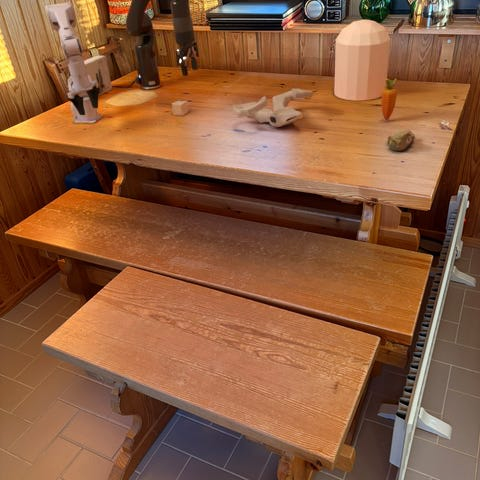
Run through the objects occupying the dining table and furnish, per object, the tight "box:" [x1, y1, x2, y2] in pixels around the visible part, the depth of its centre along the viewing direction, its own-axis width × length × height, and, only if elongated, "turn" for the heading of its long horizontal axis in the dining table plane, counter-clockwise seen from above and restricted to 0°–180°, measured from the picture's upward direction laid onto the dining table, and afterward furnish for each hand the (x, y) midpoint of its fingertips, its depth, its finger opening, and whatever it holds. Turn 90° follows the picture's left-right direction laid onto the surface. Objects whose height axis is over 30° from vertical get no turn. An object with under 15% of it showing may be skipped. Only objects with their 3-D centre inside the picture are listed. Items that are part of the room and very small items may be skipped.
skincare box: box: [84, 54, 113, 96], centre depth 218 cm, size 21×6×16 cm, turn 158°
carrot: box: [380, 78, 398, 122], centre depth 161 cm, size 5×5×15 cm
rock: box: [387, 129, 416, 152], centre depth 146 cm, size 11×6×10 cm
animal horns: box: [231, 88, 314, 128], centre depth 171 cm, size 28×26×12 cm
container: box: [333, 19, 391, 102], centre depth 186 cm, size 21×21×28 cm
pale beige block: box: [171, 100, 189, 117], centre depth 190 cm, size 5×5×4 cm
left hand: (89, 111), depth 175 cm, fingers open, 7 cm apart
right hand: (190, 72), depth 186 cm, fingers open, 8 cm apart
